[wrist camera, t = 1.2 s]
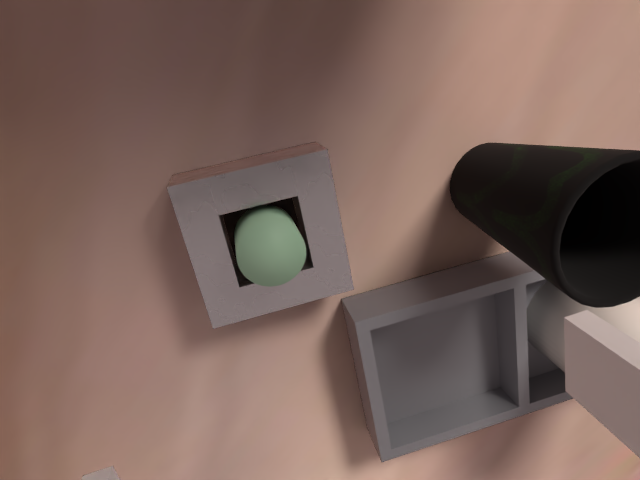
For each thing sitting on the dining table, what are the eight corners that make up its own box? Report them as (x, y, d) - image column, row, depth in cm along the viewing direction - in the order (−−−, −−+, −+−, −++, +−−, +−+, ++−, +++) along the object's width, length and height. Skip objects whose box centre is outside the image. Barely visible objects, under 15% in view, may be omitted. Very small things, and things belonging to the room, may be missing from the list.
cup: (485, 252, 34) (614, 334, 23) (414, 195, 31) (521, 257, 20) (554, 169, 33) (724, 213, 22) (487, 103, 30) (642, 114, 19)
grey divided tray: (341, 298, 33) (354, 322, 29) (627, 218, 36) (668, 231, 33) (367, 429, 37) (381, 462, 34) (620, 347, 40) (655, 370, 37)
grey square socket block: (172, 174, 28) (166, 187, 24) (315, 141, 29) (327, 149, 25) (213, 303, 31) (213, 328, 28) (340, 268, 32) (353, 289, 29)
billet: (522, 283, 34) (667, 378, 23) (610, 257, 35) (790, 336, 24) (525, 364, 37) (656, 484, 26) (607, 338, 38) (767, 443, 27)
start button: (226, 213, 27) (227, 231, 24) (288, 198, 27) (298, 213, 24) (243, 270, 28) (246, 294, 25) (301, 254, 29) (312, 276, 26)
